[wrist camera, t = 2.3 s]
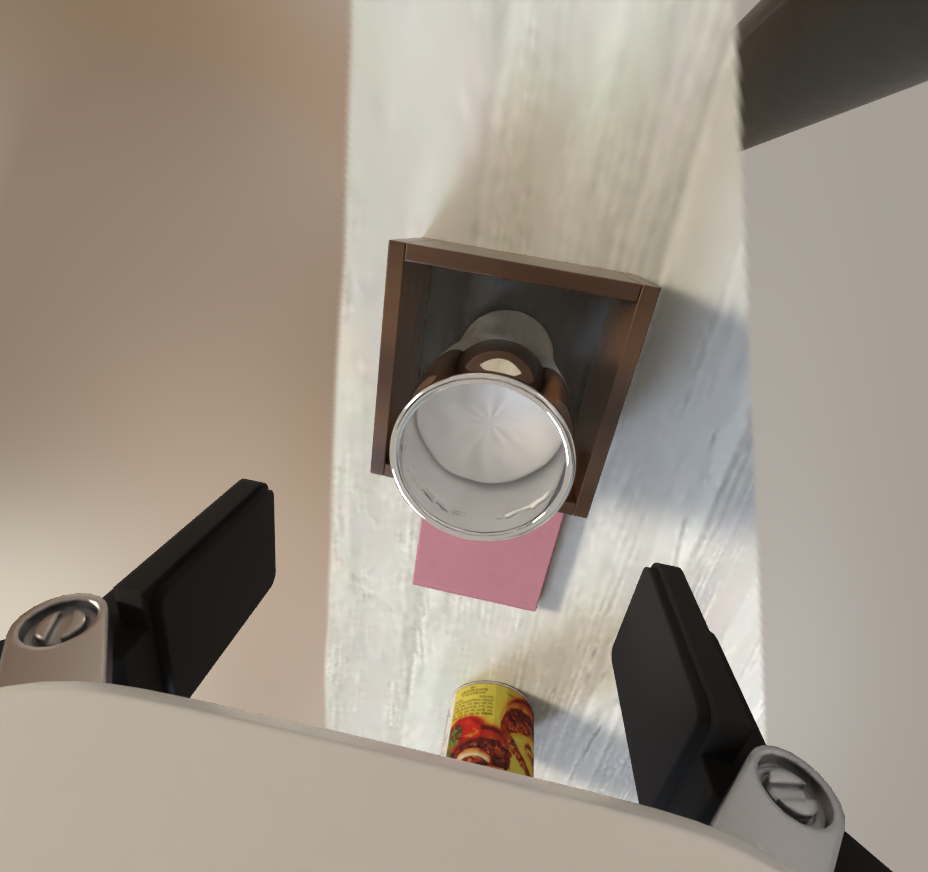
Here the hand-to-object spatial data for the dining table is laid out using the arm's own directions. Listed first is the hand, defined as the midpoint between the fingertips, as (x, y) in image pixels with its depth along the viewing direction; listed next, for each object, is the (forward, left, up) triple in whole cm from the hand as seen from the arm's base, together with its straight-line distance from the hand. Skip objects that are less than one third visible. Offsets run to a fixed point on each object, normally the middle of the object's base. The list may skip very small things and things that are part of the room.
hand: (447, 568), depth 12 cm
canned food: (+15, +30, -20) cm, 39 cm away
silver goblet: (0, 0, -20) cm, 20 cm away
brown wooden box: (0, 0, -20) cm, 20 cm away
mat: (+7, +12, -20) cm, 24 cm away
